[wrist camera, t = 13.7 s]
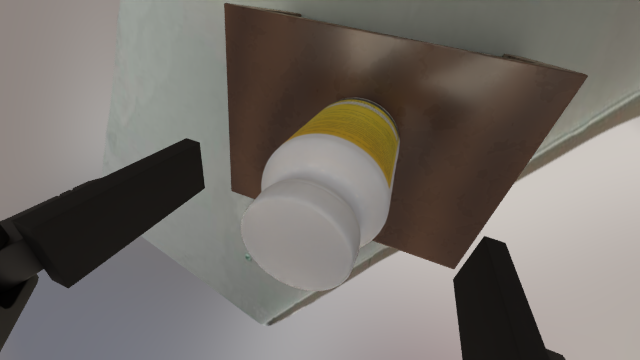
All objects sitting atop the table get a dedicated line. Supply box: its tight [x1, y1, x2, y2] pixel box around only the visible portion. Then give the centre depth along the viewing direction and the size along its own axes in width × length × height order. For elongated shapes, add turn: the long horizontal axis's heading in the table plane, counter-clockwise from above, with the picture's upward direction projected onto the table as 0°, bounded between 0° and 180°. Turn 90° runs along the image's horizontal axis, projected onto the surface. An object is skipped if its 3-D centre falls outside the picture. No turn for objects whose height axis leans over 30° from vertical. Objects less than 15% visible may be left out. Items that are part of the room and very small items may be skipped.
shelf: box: [224, 3, 588, 269], centre depth 24 cm, size 22×16×10 cm
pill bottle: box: [241, 98, 400, 291], centre depth 14 cm, size 6×6×12 cm
